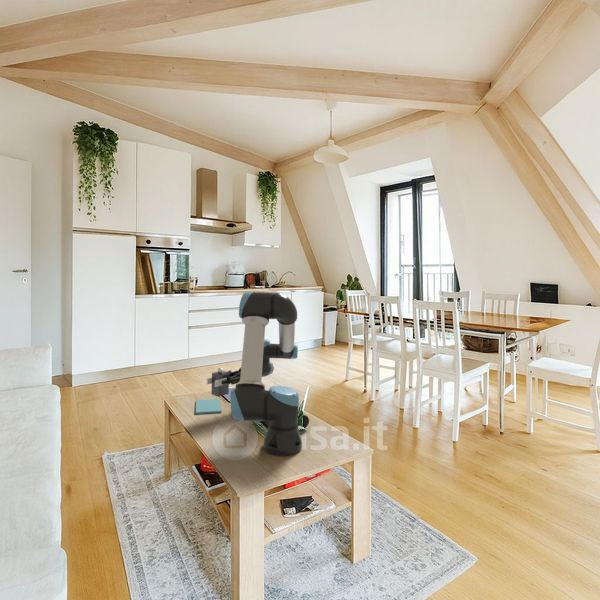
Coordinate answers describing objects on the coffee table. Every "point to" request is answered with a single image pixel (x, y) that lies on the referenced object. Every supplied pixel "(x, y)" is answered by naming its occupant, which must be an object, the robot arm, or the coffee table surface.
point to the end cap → (305, 421)
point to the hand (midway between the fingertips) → (211, 382)
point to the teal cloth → (208, 406)
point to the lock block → (223, 388)
